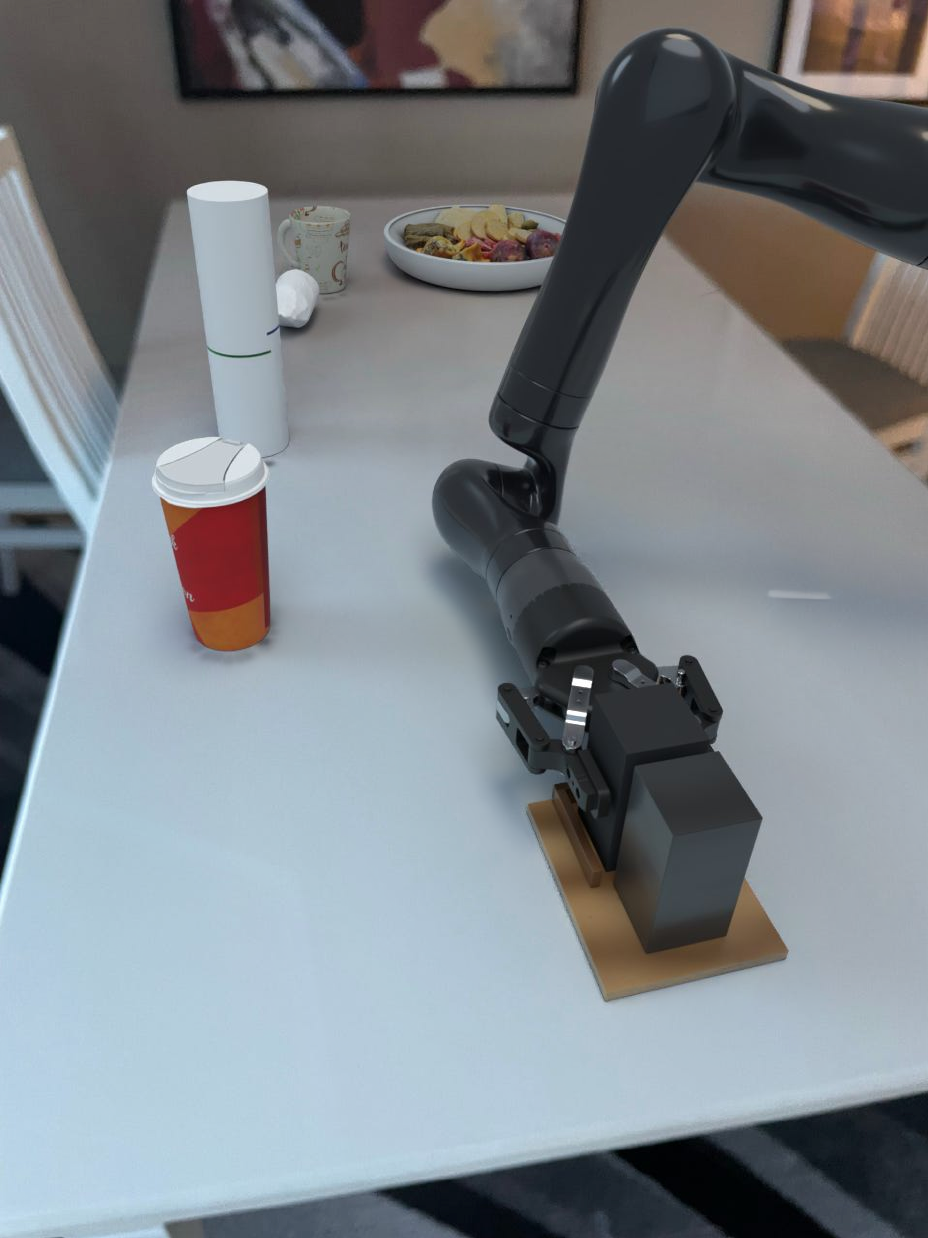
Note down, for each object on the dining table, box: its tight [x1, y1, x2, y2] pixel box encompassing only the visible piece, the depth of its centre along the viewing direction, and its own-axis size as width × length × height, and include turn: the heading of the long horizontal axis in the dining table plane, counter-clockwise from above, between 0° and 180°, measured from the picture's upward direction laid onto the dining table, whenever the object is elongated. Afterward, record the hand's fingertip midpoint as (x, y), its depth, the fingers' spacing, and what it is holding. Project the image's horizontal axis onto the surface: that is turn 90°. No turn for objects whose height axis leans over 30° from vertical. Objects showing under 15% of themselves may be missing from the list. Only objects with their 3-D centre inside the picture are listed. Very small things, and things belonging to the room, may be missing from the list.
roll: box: [276, 268, 320, 329], centre depth 130 cm, size 6×12×6 cm, turn 178°
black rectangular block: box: [578, 682, 710, 872], centre depth 60 cm, size 5×5×10 cm
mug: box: [276, 205, 351, 295], centre depth 141 cm, size 8×13×10 cm, turn 58°
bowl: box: [383, 203, 567, 292], centre depth 151 cm, size 30×30×8 cm
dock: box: [526, 750, 790, 1002], centre depth 58 cm, size 14×11×11 cm
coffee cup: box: [151, 436, 271, 652], centre depth 75 cm, size 8×8×15 cm
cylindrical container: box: [186, 180, 290, 458], centre depth 97 cm, size 7×7×25 cm
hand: (658, 797), depth 57 cm, fingers open, 6 cm apart
